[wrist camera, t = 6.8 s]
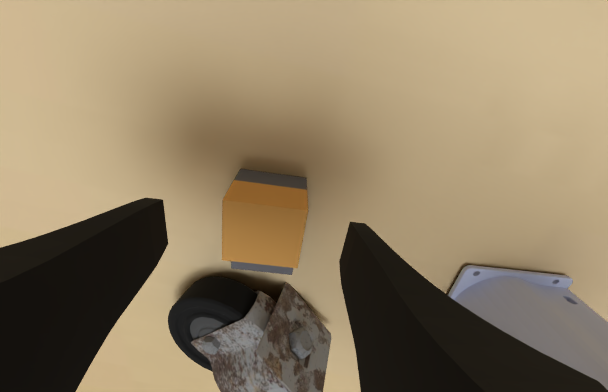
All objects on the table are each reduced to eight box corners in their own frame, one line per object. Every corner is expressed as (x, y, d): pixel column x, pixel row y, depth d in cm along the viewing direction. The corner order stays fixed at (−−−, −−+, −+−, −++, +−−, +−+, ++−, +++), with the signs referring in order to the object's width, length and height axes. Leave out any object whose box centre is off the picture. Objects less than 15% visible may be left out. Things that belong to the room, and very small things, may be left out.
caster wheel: (185, 280, 25) (257, 236, 21) (258, 358, 27) (337, 332, 23) (126, 341, 19) (211, 297, 15) (225, 437, 21) (325, 421, 17)
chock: (306, 176, 17) (308, 210, 13) (292, 256, 20) (290, 303, 16) (240, 167, 17) (222, 199, 13) (237, 250, 20) (221, 296, 16)
